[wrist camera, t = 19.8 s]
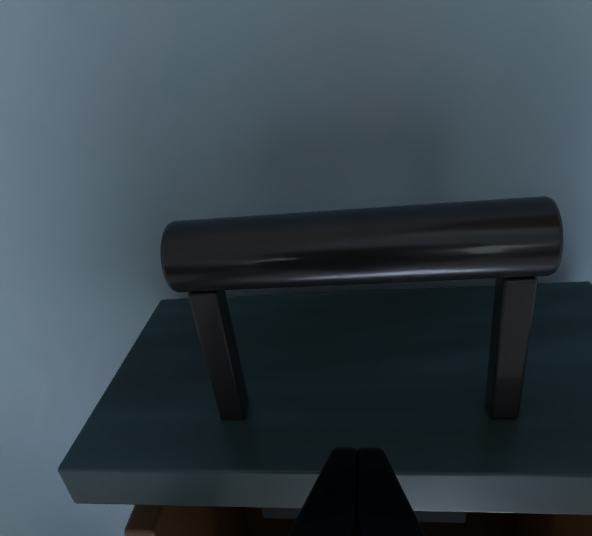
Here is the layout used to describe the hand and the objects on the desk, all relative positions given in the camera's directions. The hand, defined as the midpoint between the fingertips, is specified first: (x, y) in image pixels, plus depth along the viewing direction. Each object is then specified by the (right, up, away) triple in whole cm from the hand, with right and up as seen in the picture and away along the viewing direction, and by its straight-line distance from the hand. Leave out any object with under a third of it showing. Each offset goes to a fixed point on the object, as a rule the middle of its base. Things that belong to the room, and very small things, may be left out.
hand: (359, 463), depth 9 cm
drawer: (+1, -2, +9) cm, 10 cm away
